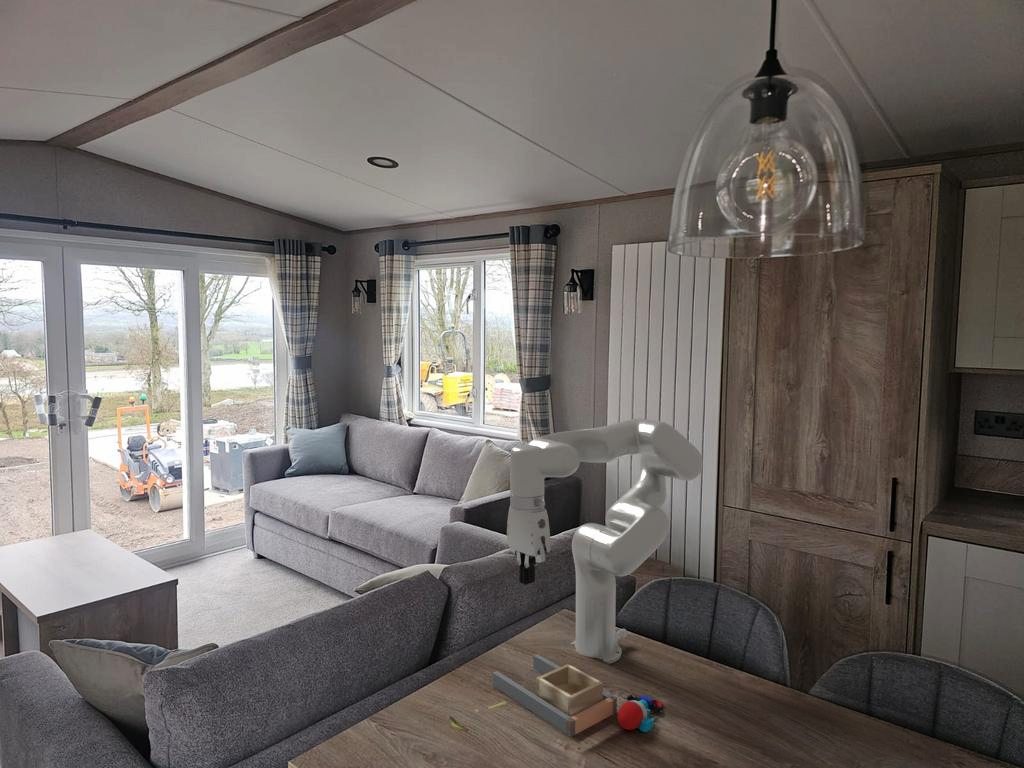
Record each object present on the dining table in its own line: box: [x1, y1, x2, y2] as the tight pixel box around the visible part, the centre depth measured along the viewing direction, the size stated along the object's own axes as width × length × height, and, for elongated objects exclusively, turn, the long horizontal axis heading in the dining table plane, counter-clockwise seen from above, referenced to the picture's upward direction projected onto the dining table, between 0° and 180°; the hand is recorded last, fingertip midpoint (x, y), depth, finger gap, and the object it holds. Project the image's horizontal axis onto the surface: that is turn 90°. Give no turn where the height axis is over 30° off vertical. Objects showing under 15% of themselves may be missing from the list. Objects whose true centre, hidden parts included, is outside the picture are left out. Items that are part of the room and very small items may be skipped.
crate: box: [535, 663, 604, 717], centre depth 137 cm, size 10×9×6 cm
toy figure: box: [617, 694, 664, 733], centre depth 136 cm, size 8×5×15 cm
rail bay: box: [492, 653, 618, 738], centre depth 141 cm, size 24×13×4 cm, turn 40°
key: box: [448, 700, 508, 732], centre depth 138 cm, size 7×12×2 cm, turn 133°
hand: (527, 582), depth 150 cm, fingers closed
